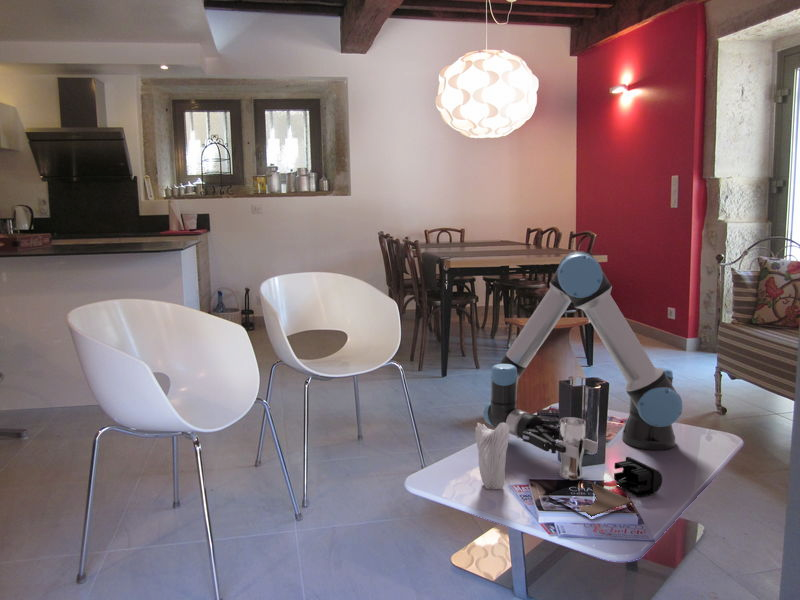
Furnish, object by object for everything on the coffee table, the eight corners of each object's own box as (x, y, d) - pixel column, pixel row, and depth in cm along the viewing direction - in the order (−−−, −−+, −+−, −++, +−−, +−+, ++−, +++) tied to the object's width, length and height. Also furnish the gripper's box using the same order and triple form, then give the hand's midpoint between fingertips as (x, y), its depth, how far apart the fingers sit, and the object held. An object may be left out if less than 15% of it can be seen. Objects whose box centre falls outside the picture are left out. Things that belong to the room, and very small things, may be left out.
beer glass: (565, 482, 174) (567, 426, 172) (552, 472, 181) (554, 418, 178) (589, 479, 176) (591, 424, 174) (576, 469, 182) (577, 415, 180)
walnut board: (588, 485, 173) (588, 480, 173) (632, 505, 161) (632, 500, 161) (548, 497, 166) (548, 492, 166) (591, 519, 154) (591, 514, 154)
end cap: (662, 494, 168) (663, 468, 167) (639, 499, 165) (641, 472, 164) (633, 479, 177) (635, 454, 176) (612, 483, 174) (613, 458, 173)
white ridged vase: (473, 481, 176) (474, 414, 173) (504, 480, 176) (505, 414, 174) (478, 494, 168) (479, 425, 165) (511, 493, 168) (512, 424, 166)
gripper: (550, 432, 198) (612, 457, 178) (499, 445, 188) (558, 472, 168) (550, 407, 197) (613, 429, 177) (499, 419, 187) (559, 443, 167)
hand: (586, 450), depth 173 cm, fingers closed on beer glass, 6 cm apart
